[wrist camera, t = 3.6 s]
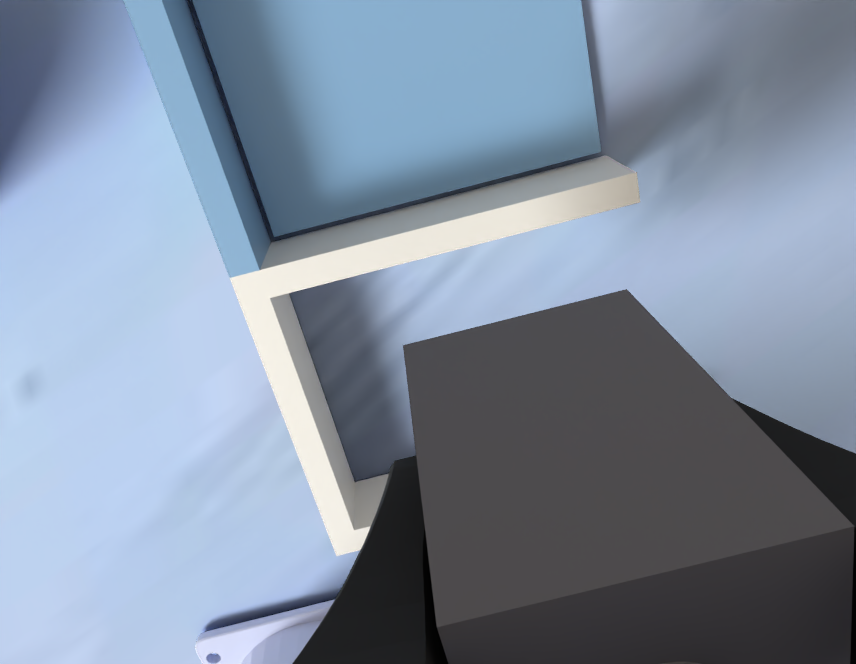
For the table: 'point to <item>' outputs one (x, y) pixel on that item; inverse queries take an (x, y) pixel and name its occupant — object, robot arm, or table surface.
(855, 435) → the table surface
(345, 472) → the two-rail blue tray
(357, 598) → the robot arm
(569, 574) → the plug
